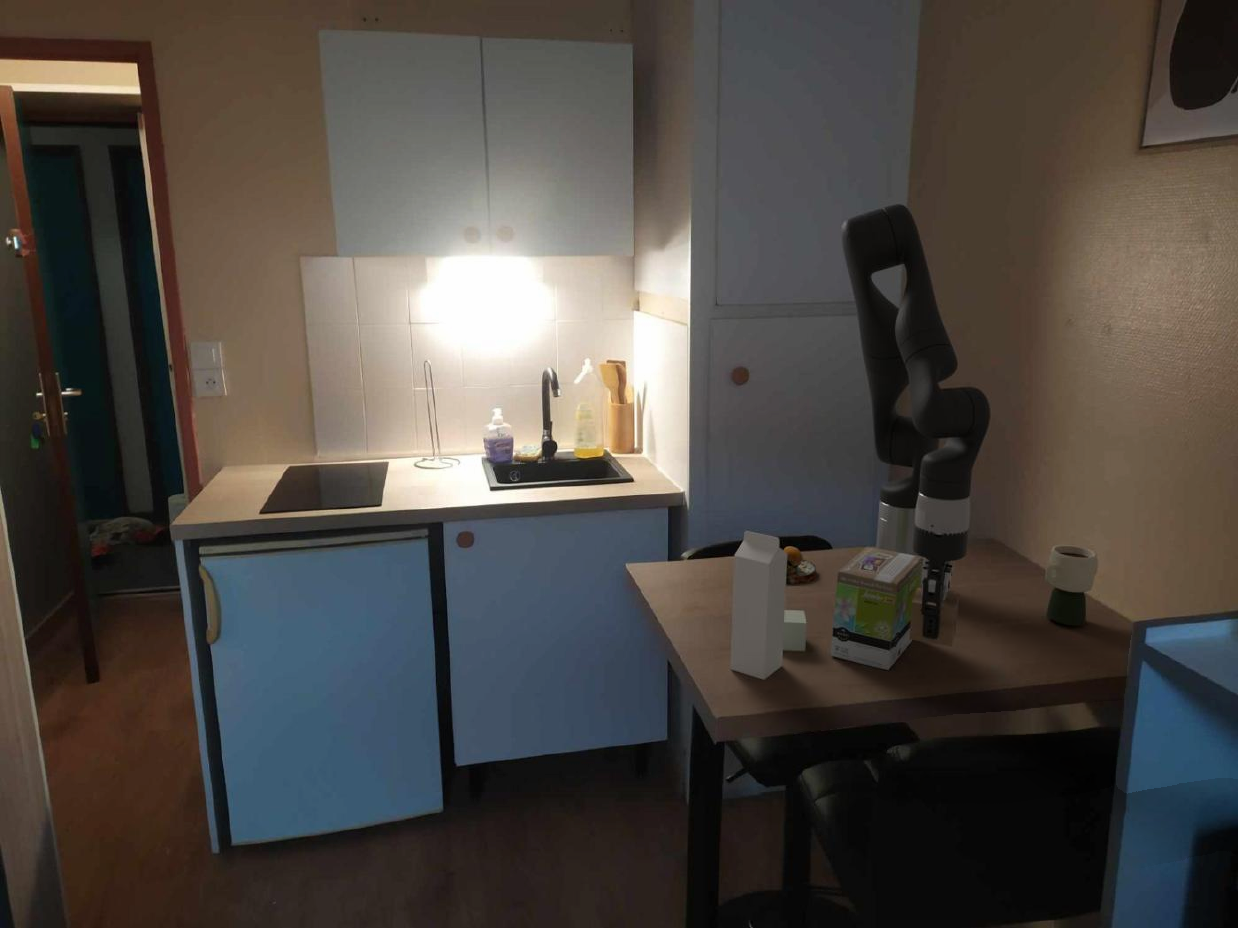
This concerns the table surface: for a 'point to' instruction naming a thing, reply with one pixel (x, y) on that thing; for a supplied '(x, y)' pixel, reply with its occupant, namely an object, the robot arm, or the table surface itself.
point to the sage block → (794, 630)
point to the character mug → (1070, 582)
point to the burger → (798, 567)
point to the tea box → (875, 606)
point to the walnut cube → (945, 625)
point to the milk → (758, 606)
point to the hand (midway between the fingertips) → (933, 628)
